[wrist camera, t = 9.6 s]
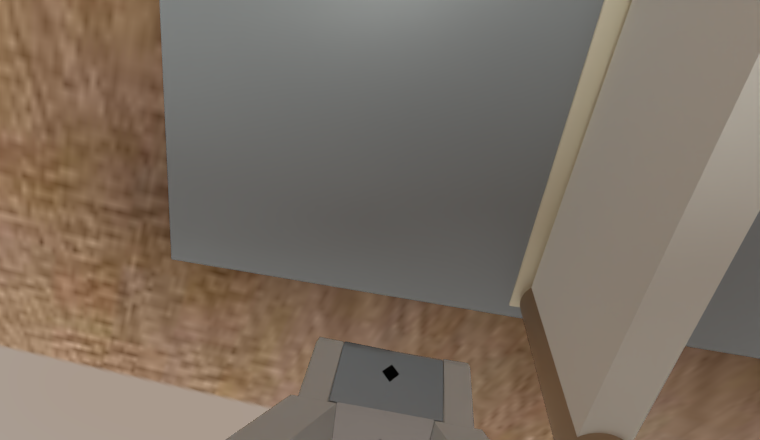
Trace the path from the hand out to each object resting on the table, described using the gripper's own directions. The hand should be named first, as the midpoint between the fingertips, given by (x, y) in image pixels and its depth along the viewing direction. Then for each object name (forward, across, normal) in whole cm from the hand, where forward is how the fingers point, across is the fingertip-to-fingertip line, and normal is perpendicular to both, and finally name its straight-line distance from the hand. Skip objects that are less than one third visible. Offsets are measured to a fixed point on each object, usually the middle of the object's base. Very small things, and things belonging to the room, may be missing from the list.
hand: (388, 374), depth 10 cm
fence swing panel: (+7, -5, -3) cm, 9 cm away
